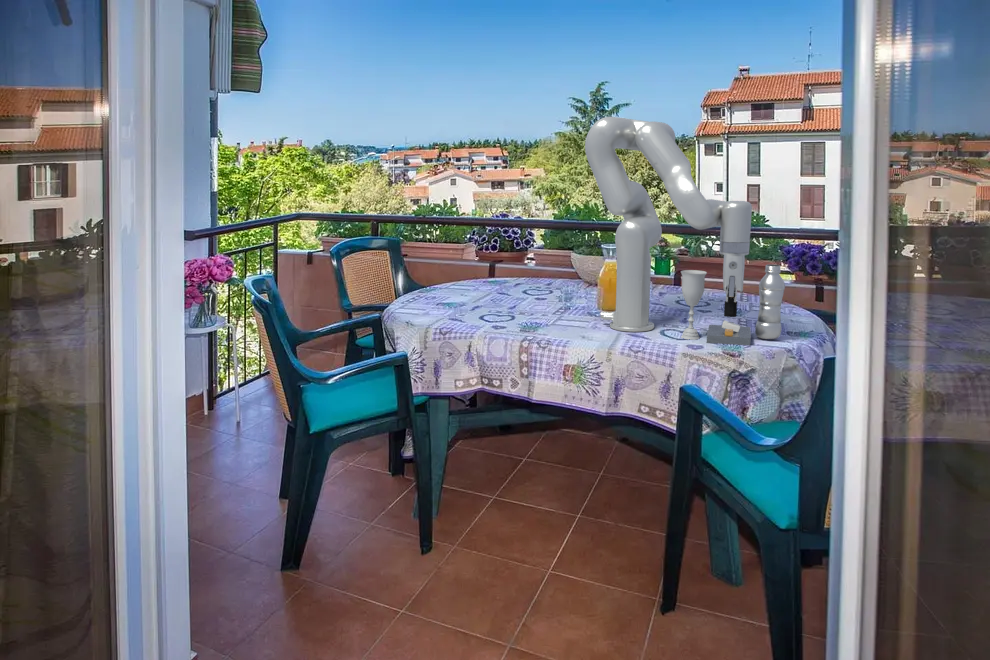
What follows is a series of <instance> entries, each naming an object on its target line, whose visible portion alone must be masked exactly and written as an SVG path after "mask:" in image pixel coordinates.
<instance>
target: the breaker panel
mask: <svg viewBox="0 0 990 660" xmlns="http://www.w3.org/2000/svg"><path fill="white" fill-rule="evenodd" d="M730 322H731V323H735V322H734V321H730ZM751 327H752V326H744V325H743V326H742V325H741V326H740V329H739V331H738V332H735V331H733V329H726V328H722V324H721V325H720V324H709V325H708V329H707V334H706V344H721V345H737V346H738V345H739V346H751V338H752V335H751V334H752V333H751V332H752V331H751Z"/></svg>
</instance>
